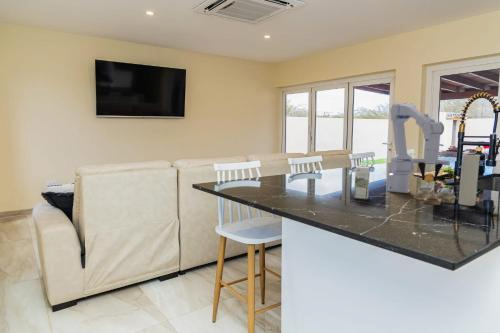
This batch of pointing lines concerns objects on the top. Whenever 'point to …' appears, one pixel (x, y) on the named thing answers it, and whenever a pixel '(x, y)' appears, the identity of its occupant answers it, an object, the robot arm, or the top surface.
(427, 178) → the ball orange
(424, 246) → the top surface
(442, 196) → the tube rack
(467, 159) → the paper towel roll
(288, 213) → the top surface
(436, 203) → the stand
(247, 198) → the top surface
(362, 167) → the syrup box
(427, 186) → the slate ball
